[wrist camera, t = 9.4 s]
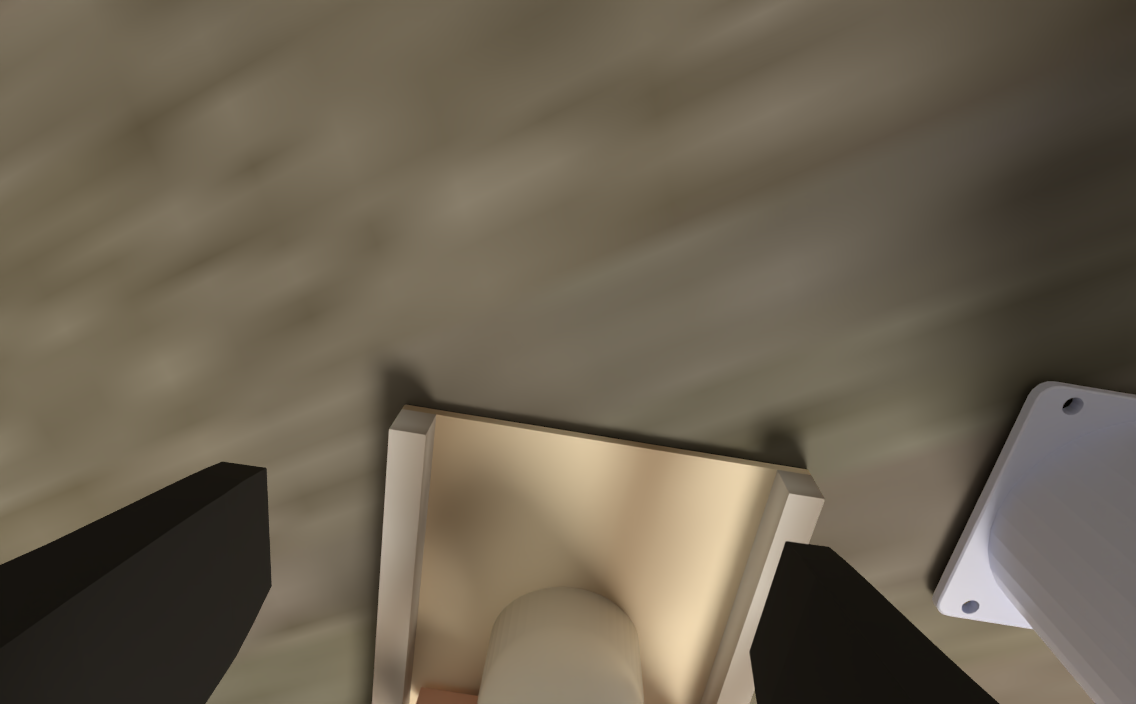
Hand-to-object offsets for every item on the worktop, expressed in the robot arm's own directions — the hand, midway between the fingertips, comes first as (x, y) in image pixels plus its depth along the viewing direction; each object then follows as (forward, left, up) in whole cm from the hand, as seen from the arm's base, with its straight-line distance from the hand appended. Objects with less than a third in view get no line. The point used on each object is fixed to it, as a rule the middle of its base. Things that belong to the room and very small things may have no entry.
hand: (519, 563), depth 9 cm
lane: (-2, +13, -9) cm, 16 cm away
